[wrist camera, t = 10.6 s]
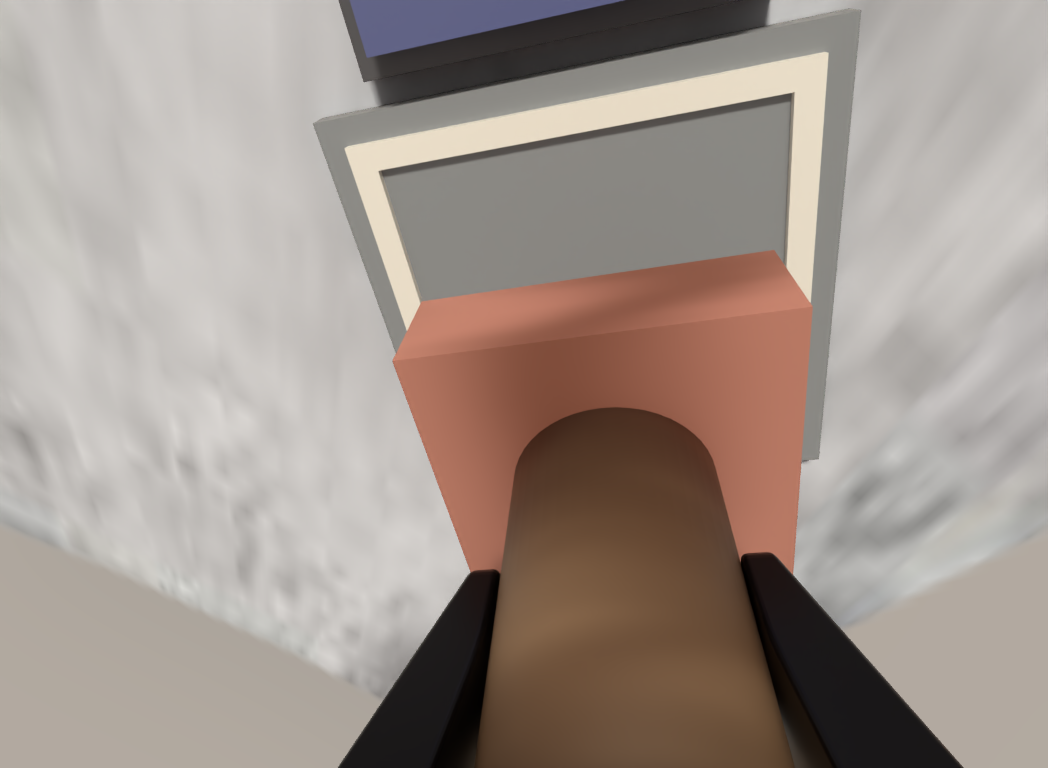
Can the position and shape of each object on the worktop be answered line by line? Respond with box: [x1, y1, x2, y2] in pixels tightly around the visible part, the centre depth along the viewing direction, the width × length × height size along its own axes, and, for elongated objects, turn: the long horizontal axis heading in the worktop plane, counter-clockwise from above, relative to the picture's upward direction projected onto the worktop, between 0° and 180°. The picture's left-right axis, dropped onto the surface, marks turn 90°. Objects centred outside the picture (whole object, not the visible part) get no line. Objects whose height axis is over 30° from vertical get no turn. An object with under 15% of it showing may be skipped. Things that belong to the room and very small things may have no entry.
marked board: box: [313, 9, 861, 461], centre depth 16 cm, size 11×11×1 cm
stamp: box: [393, 250, 813, 768], centre depth 8 cm, size 6×6×10 cm
